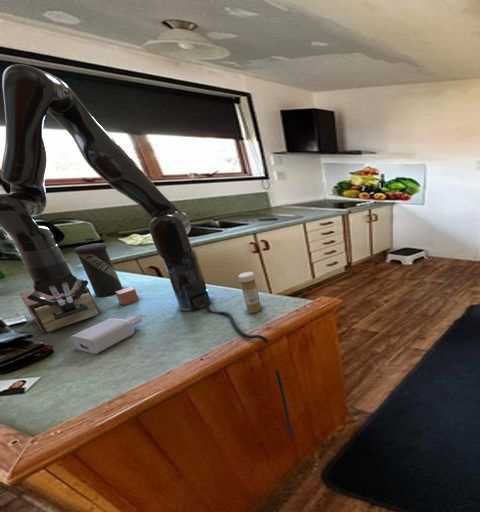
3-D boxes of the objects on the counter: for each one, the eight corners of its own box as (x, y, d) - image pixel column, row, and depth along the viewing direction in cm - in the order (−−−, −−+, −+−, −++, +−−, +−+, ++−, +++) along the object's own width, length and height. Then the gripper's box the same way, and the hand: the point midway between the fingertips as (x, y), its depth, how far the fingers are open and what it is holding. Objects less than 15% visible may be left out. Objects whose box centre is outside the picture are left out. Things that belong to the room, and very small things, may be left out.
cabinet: (100, 313, 94) (88, 288, 91) (44, 333, 84) (28, 305, 80) (86, 302, 102) (75, 279, 98) (33, 319, 92) (19, 293, 88)
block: (139, 299, 102) (135, 289, 101) (123, 305, 99) (119, 294, 97) (134, 297, 105) (130, 286, 103) (119, 302, 101) (114, 291, 99)
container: (105, 297, 105) (84, 249, 98) (88, 296, 107) (66, 248, 100) (129, 287, 113) (111, 242, 106) (112, 286, 115) (93, 241, 108)
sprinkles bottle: (262, 305, 95) (254, 270, 90) (261, 312, 91) (253, 275, 86) (247, 308, 93) (239, 272, 89) (246, 314, 89) (237, 277, 85)
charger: (155, 323, 87) (98, 354, 73) (135, 319, 89) (76, 349, 76) (150, 310, 85) (91, 340, 71) (130, 307, 88) (68, 335, 74)
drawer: (103, 317, 89) (93, 296, 87) (51, 336, 80) (38, 313, 78) (86, 303, 99) (77, 284, 96) (37, 319, 90) (25, 298, 87)
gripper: (10, 273, 72) (41, 328, 78) (81, 257, 82) (103, 307, 88) (6, 267, 75) (36, 321, 81) (74, 253, 86) (96, 301, 92)
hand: (71, 313), depth 85 cm, fingers closed
